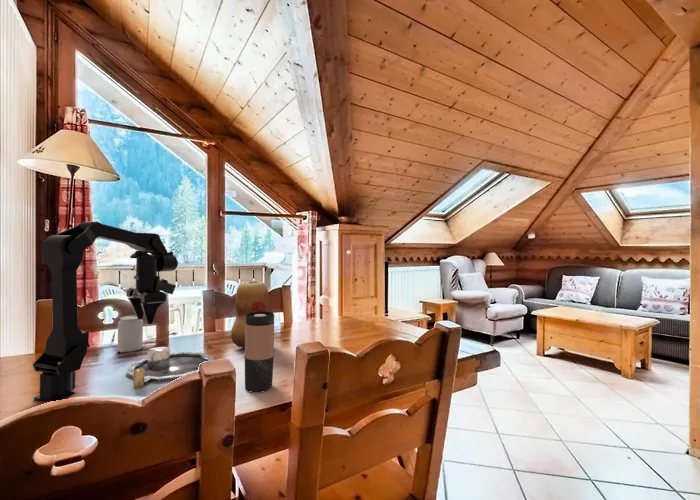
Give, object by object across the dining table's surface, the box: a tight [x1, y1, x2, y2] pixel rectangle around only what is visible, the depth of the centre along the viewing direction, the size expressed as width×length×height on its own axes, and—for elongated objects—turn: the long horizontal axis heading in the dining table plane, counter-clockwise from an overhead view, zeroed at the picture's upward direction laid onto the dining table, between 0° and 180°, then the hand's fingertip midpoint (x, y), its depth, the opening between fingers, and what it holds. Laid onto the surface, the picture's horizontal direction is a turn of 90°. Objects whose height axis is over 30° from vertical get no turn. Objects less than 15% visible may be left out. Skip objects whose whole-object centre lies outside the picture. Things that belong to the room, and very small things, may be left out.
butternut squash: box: [230, 279, 269, 349], centre depth 130 cm, size 14×13×25 cm
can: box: [117, 315, 144, 354], centre depth 123 cm, size 8×8×12 cm
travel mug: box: [244, 310, 275, 393], centre depth 95 cm, size 8×8×20 cm
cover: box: [146, 346, 171, 370], centre depth 107 cm, size 6×6×5 cm
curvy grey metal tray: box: [125, 351, 215, 390], centre depth 104 cm, size 28×23×5 cm
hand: (145, 321), depth 111 cm, fingers open, 9 cm apart
